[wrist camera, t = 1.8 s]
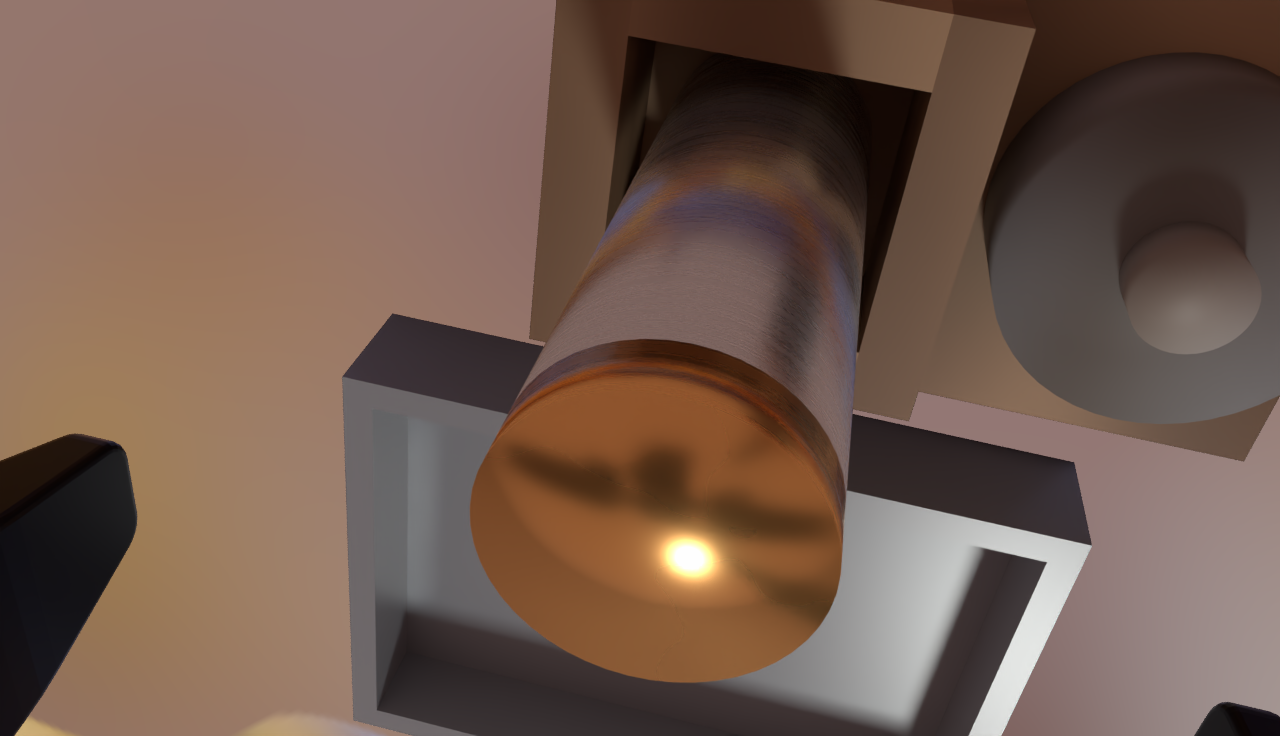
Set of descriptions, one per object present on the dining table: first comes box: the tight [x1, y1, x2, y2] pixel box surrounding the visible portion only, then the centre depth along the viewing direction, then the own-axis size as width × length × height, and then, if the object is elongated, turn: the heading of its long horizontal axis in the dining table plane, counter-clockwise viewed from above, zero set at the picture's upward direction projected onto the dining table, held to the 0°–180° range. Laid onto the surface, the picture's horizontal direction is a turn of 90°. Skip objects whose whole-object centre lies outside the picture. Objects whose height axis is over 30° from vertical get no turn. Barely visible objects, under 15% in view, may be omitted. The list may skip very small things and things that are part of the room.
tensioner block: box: [529, 0, 1280, 461], centre depth 17 cm, size 12×8×5 cm, turn 82°
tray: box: [342, 314, 1092, 736], centre depth 24 cm, size 14×10×2 cm
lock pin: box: [470, 53, 872, 683], centre depth 13 cm, size 3×3×10 cm
